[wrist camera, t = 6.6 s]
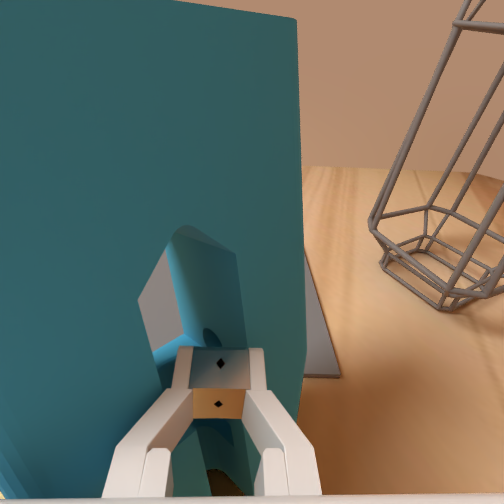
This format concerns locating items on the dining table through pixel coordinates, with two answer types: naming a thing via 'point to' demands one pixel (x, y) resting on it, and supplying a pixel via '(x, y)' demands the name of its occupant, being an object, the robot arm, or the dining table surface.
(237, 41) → the block
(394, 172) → the geometric lantern
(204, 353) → the robot arm
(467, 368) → the dining table surface
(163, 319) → the mat
